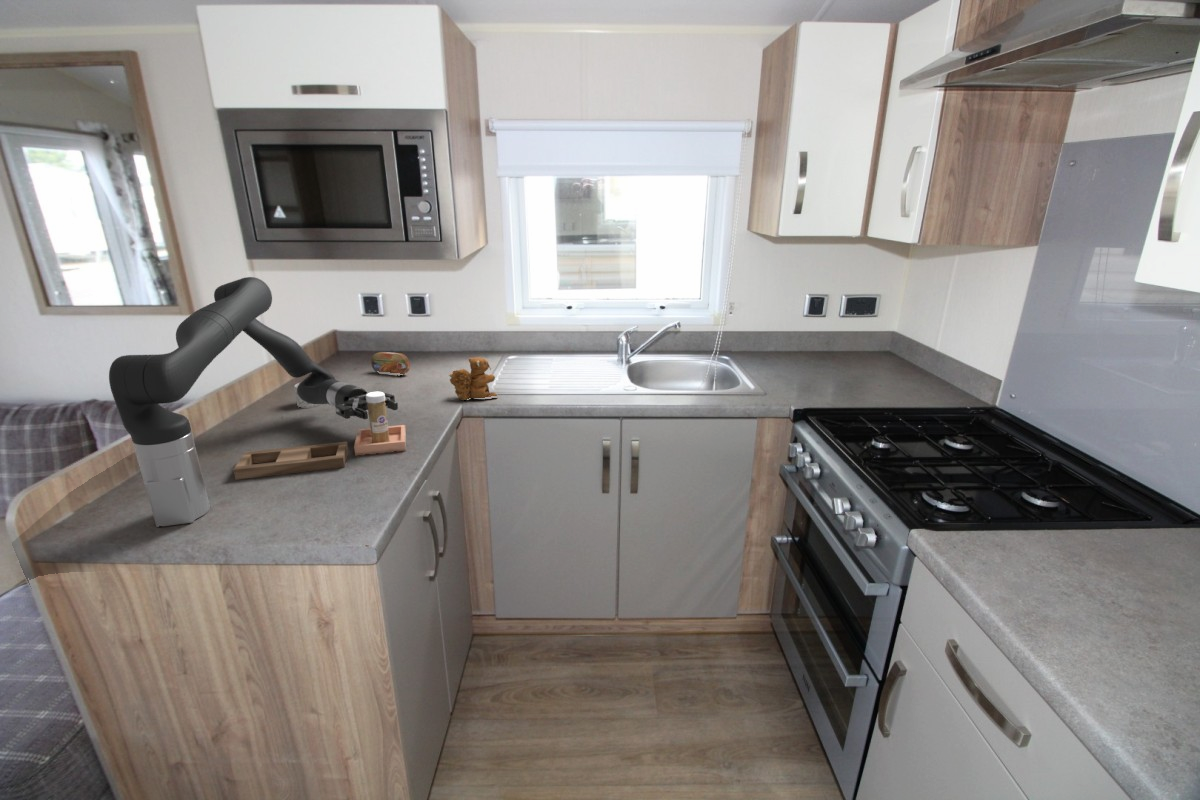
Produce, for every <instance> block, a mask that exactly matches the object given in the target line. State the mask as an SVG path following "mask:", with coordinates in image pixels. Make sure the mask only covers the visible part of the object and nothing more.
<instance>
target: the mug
mask: <svg viewBox="0 0 1200 800" xmlns="http://www.w3.org/2000/svg"><path fill="white" fill-rule="evenodd" d="M300 383H301V382H297V383H295V384H294V385H293V388H294V389H293V390H294V395H295V400H296V404H297V405H296V406H298V407H297V408H299V407H301V408H300V409H311V408H310V407H313V408H316V407H318V406H317V405H319V404H310V403H307V402H305V401H304V400H302V399H301V398H300V397H299V396H298V393H297V387H298V385H299V384H300ZM315 406H316V407H315ZM319 406H320V405H319Z"/></svg>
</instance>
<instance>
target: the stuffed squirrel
mask: <svg viewBox="0 0 1200 800" xmlns="http://www.w3.org/2000/svg"><path fill="white" fill-rule="evenodd" d="M468 362H469V367H470V372H469V371H468V370H467V369H465V368H461V369H459V370H458V369H456V370H452V372H451V374H449V375H448V377H449V378H450V379H449V381H450V384H451V385H453V386H454V392H455V394H456V396H457V398H458V399H460V400H461V401H464V400H467V399H469V398H485V397H491V396H497V395H498V393H496V392H490V387H489V385H488V384H490V383H492V382H494V381H495V380H496V379H495V378H496V376H495V375H494V374H487V373H485V372H486V371H487V370H488V369H489V370H490V371H491V370H492V368H491V366H490V363H489V360H487V359H485V358H484V357H479V356H478V357H473V358H472V357H469V358H468Z"/></svg>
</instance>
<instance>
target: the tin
mask: <svg viewBox="0 0 1200 800" xmlns="http://www.w3.org/2000/svg"><path fill="white" fill-rule="evenodd" d="M370 362H371V363H370V364H371V367H372V369H373V371H374V372H375V373H376V372H377V371H379V372H390V373H400V374H405V373H406V374H407V373H409V371H410V367H411V364H410V360H409V358H408V357H407V356H406V355H405V354H404V353H401V352H400V353H398V352H387V351H379V352H376V353H373V355H372V357H371V360H370ZM406 374H405V375H406Z"/></svg>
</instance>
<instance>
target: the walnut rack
mask: <svg viewBox="0 0 1200 800" xmlns="http://www.w3.org/2000/svg"><path fill="white" fill-rule="evenodd" d="M335 454H336V455H335ZM348 454H349V444H348V441H339V442H333V443H332V442H331V443H322V444H312V445H311V444H309V445H302V446H293V447H292V446H291V447H282V448H273V449H272V448H271V449H263V450H252V451H245V452H244V453H243V454H242V455H241V457H240V459H239V461H238V462H237V463H236V464H235V466H234V467H233V475H234V478H235V479H234V480H243V479H244V480H245V479H251V478H253V479H254V478H261V477H271V476H278V475H279V476H280V475H287V474H295V473H297V474H298V473H304V472H313V471H323V470H332V469H333V470H334V469H341V467H342V468H345V467H346V463H347V458H348ZM327 455H328V456H327ZM345 462H346V463H345Z"/></svg>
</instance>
